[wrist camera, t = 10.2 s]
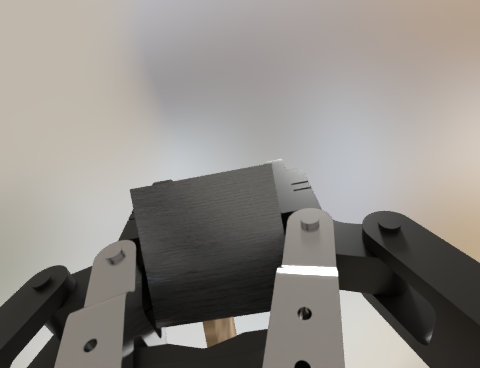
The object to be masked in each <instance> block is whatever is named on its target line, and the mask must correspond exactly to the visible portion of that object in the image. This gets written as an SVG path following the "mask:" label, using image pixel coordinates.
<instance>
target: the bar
mask: <svg viewBox="0 0 480 368" xmlns="http://www.w3.org/2000/svg"><path fill="white" fill-rule="evenodd" d="M130 193H131V198H132V204H133V208H134V214H135V219H136V224H137V229H138V234H139V240H140V245H141V250H142V255H143V260H144V265H145V270H146V276H147V281H148V286H149V291H150V296H151V301H152V306H153V312H154V317H155V322H156V327H157V328H163V327H169V326H177V325H183V324H190V323H197V322H203V321H210V320H216V319H223V318H230V317H236V316H243V315H250V314H256V313H263V312H269V311H271V305H272V298H273V291H274V284H275V277H276V272H277V268H278V267H282V260H283V253H284V245H285V235H284V230H283V224H282V219H281V213H280V208H279V202H278V197H277V191H276V186H275V180H274V175H273V169H272V163H270V164H264V165H259V166H254V167H248V168H243V169H238V170H232V171H227V172H221V173H216V174H211V175H205V176H200V177H195V178H189V179H184V180H179V181H173V182H168V183H162V184H157V185H152V186H146V187H141V188H135V189H131V190H130Z"/></svg>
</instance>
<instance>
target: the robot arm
mask: <svg viewBox="0 0 480 368" xmlns="http://www.w3.org/2000/svg"><path fill="white" fill-rule="evenodd" d="M270 163H272V169H273V175H274V180H275V186H276V191H277V197H278V202H279V208H280V213H281V219H282V224H283V230H284V235H285V245H284V253H283V260H282V267H278V268H277V272H276V277H275V284H274V291H273V298H272V305H271V312H270V319H269V326H268V329H264V330H258V331H251V332H244V333H242V334H239V335H237V336H235V337H232V338H230V339H227V340H225V341H223V342H220V343H218V344H215V345H213V346H211V347H208V348H202V349H201V348H194V347H186V346H180V345H173V344H167V336H166V327H163V328H157V327H156V322H155V317H154V312H153V306H152V301H151V296H150V291H149V286H148V281H147V276H146V270H145V265H144V260H143V255H142V250H141V245H140V240H139V234H138V229H137V224H136V219H135V214H134V209H133V211H132V214H131V215H130V217H129V221H127V224H126V226H125V228H124V230H123V232H122V234H121V236H120V238H119V240H118V241H117V242H115V243H112V244H110V245H108V246H107V247H105V248H104V249H103V250H102V251H100V252H99V254H98V255H97V256H96V257H95V260H94V262H93V266H91V267H88V268H86V269H83V270H81V271H79V272H76V273H74V274H70V272H69V271H68V270H67V268H66V267H64V266H61V265H57V266H52V267H49V268H47V269H44V270H42V271H41V272H39V273H37V274H36V275H35V276H33V277H32V278H31V279H30V280H29V281H27V282H26V283H25V284H24V285H23V286H22V287H21V288H20V289H19V290H18V291H17V292H16V293H15V294H14V295H13V296H12V297H10V299H8V300H7V301H6V302H5V303H4V304H3V305H2V306H1V307H0V368H10V366H11V364H12V362H13V360H14V359H15V358H16V357H17V355H18V354H19V353H20V352H21V351H22V350H23V349H24V347H25V346H26V345H27V344H28V343H29V341H30V340H31V339H32V338H33V337H34V336H35V335H36V334H37V332H38V331H39V330H40V329H41V328H42V327H43V326H44V325H45V326H46V327H47V328H48V329H49V330H50V331H51V332H52V333H53V334H54V335H53V336H52V338H51V339H50V340H49V341H48V342H47V344H46V345H45V346H44V347H43V349H42V350H41V351H40V352H39V354H38V355H37V356H36V357H35V358H34V360H33V361H32V362H31V363H30V365H29V366H28V367H27V368H345V363H344V350H343V336H342V322H341V309H340V295H339V290H346V291H353V292H360V293H362V295H363V296H364V297H365V298H366V300H367V301H368V302H369V303H370V304H371V305H372V306H373V307H374V308H375V309H376V310H377V311H378V312H379V314H380V315H381V316H382V317H383V318H384V319H385V320H386V321H387V322H388V323H389V324H390V325H391V326H392V327H393V329H394V330H395V331H396V332H397V333H398V334H399V335H400V336H401V337H402V338H403V339H404V340H405V341H406V343H407V344H408V345H409V346H410V347H411V348H412V349H413V350H414V351H415V352H416V353H417V355H418V356H419V357H420V358H421V359H422V360H423V361H424V362H425V363H426V364H427V365H428V366H429V367H430V368H480V263H479V262H477V261H476V260H474V259H473V258H471V257H470V256H468V255H466V254H465V253H463V252H461V251H460V250H459V249H457V248H455V247H454V246H452V245H451V244H449V243H448V242H446V241H444V240H443V239H441V238H440V237H438V236H437V235H435V234H433V233H432V232H430V231H429V230H427V229H425V228H424V227H422V226H421V225H419V224H418V223H416V222H414V221H413V220H411V219H410V218H408V217H406V216H405V215H402V214H400V213H396V212H391V211H378V212H374V213H371V214H369V215H368V216H366V217H365V218H364V220H363V224H350V223H349V224H348V223H342V222H338V221H335V220H333V219H332V217H331V216H330V215H329V214H328V213H327V212H325V211H323V210H322V209H321V207H320V205H319V203H318V200H317V198H316V196H315V194H314V192H313V190H312V188H311V186H310V184H309V182H308V179H307V177H306V175H305V173H303V172H302V171H300V170H299V169H297V168H294V169H289V170H286V169H285V166H284V163H283V160H282V159H279V160H274V161H268V162H265V164H270ZM168 182H173V181H172V180H166V181H160V182H155V183H153V185H157V184H162V183H168Z"/></svg>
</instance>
